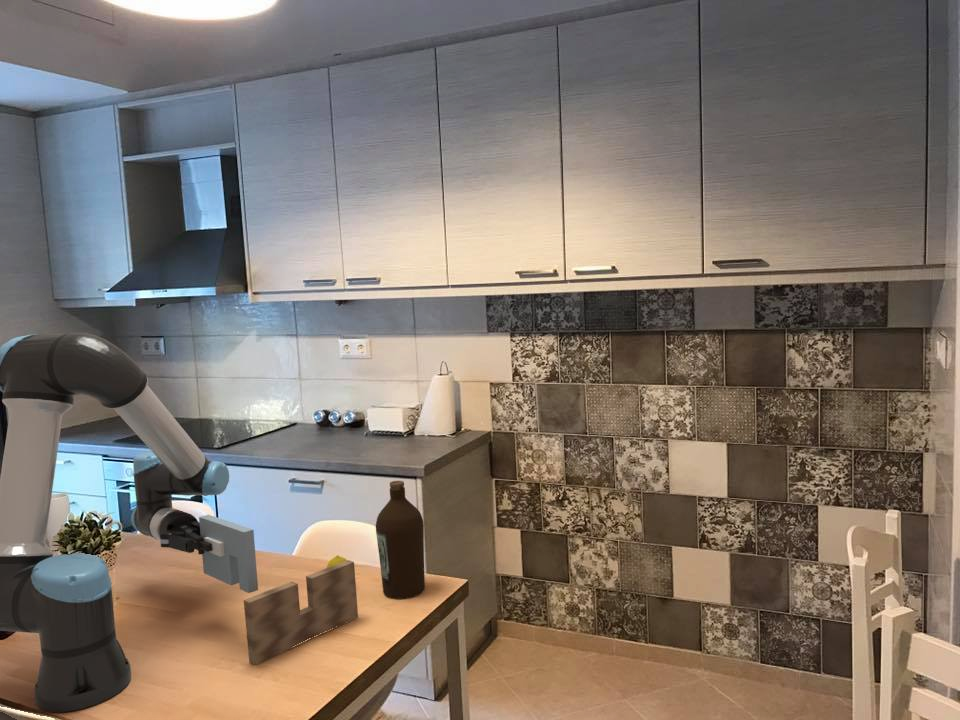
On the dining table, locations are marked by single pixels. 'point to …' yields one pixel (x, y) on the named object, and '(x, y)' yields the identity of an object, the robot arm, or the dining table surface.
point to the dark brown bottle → (401, 546)
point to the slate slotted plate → (230, 553)
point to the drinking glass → (57, 514)
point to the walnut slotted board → (299, 611)
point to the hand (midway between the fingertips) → (228, 547)
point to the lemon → (336, 561)
